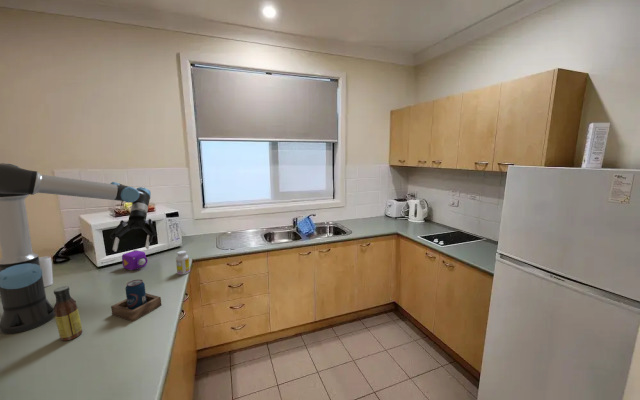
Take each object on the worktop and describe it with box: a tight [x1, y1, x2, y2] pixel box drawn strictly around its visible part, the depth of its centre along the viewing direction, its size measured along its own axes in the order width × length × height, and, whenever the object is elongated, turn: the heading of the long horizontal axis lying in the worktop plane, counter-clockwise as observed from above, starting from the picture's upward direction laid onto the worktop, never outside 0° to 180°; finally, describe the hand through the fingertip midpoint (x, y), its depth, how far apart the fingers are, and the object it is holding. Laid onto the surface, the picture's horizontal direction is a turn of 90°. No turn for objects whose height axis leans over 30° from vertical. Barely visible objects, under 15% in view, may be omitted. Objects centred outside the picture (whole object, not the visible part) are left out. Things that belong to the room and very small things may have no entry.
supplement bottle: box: [175, 250, 191, 276], centre depth 152 cm, size 7×7×13 cm
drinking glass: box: [39, 256, 54, 288], centre depth 136 cm, size 7×7×15 cm
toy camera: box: [121, 249, 148, 271], centre depth 159 cm, size 11×14×10 cm
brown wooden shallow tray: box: [110, 292, 162, 322], centre depth 115 cm, size 13×13×4 cm
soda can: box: [124, 279, 147, 310], centre depth 114 cm, size 7×7×12 cm
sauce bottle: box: [53, 285, 83, 342], centre depth 96 cm, size 6×6×20 cm
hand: (130, 249), depth 127 cm, fingers open, 13 cm apart
